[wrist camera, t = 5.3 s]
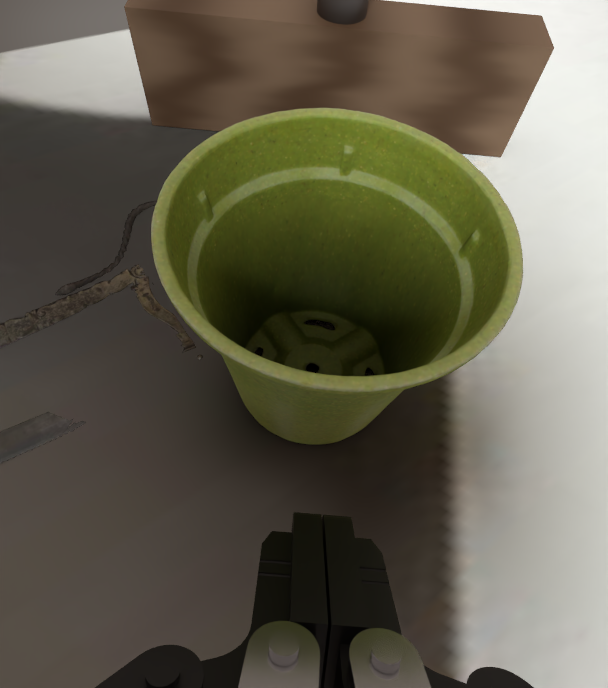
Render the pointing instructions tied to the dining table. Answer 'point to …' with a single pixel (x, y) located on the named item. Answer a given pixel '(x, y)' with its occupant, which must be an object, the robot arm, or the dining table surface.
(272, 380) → the plant pot
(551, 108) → the dining table surface
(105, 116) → the dining table surface
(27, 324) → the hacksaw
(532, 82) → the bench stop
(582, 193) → the dining table surface
